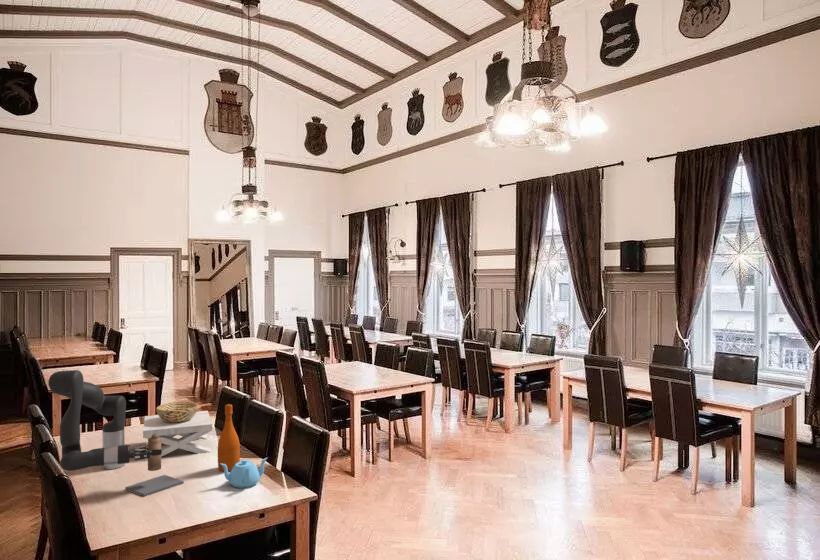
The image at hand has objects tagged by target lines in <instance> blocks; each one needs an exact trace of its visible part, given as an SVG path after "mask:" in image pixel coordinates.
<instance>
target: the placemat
mask: <svg viewBox="0 0 820 560" xmlns="http://www.w3.org/2000/svg"><path fill="white" fill-rule="evenodd" d="M184 482H185V481H184V480H181V479H178V478H175V477H173V476H169V475H167V474H162V475H159V476H156V477H152V478H150V479H146V480H144V481H141V482H137V483H134V484H131V485H128V486H125V489H124V490H126V489H127V490H126V491H128V490H130V491H129V492H131V491H132V492H131V493H133V492H135V493H134V494H136V493H137V494H136V495H139V494H140V496H141V495H142V497H147V495H148V496H151V495H153V494H156V493H159V492H162V491H165V490H169V489H171V488H174V487H176V486H180V485H182V484H184Z"/></svg>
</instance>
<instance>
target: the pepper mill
mask: <svg viewBox="0 0 820 560" xmlns="http://www.w3.org/2000/svg"><path fill="white" fill-rule="evenodd" d="M147 442H148V450H158V449H161V448H162V443H161V437H158V435H157V434H153V435H152V436H151V438H148V439H147ZM161 469H162V457H161V455H155V456H151V457H150V458H148V460H147V471H150V472H156V471H159V470H161Z"/></svg>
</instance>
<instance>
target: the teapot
mask: <svg viewBox="0 0 820 560" xmlns="http://www.w3.org/2000/svg"><path fill="white" fill-rule="evenodd" d="M267 459H268V457H265V458H263V459H262V460H261V462H260V467H259V468H258V467H257V465H256V464H255V463H254V462H253V461H250V460H248V459H240V462H238V463H236V464H235V465H234V467H233V469H232V470H231V471H228V469H227V465H226V464H222V463H220V464H221V465H222V466H223V467H224V471H223V474H224V477H225V479H226V480H227V481H228V483H229V484H230V485H231V486H232V487H234V488H238V489H239V488H240V489H241V488H242V489H243V488H245V489H246V488H249V487H253V486H255V485H257V484H258V483H259V481H260V480H261V476H263V474H264V473H265V463H266V461H267ZM256 483H257V484H256Z"/></svg>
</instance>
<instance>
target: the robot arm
mask: <svg viewBox="0 0 820 560" xmlns="http://www.w3.org/2000/svg"><path fill="white" fill-rule="evenodd" d="M47 384H48V387H49V389H50V391H51V392H52V393H53V394H55V395H58V396H63V397H67V398H69V399H70V404H69V406H68V409H66V411H65V413H64V415H63V417H62V419H61V421H60V425H59V442H60V446H61V459H60V460H59V466H60V468H61V469H62V470H64V471H67V472H71V471H72V472H74V471H78V470H83V469H88V468H90V467H101V466H102V469H104V468H105V469H104V470H114V469H115V468H116V469H120V468H122V466H123V467H125V464H129V463H130V459H134V461H139V460H140V461H141V460H144V459H146V458H150V457H151V456H155V455H161V454H162V450H161V449H158V450H148V445H146V444H144V445H134V447H133V448H130V444H126V442H125V440H126V439H125V438H126V436H125V426H126V425H125V424H126V409H127V401H126V398H125V396H123V395H105V394H104V391H103V389H102V388H101V387H100V386H98V385H96V384H94V383H91V382H87V381H84V376H83V373H82V371H80V370H79V369H71V370H60V371H59V370H58V371H55V372H52V374H51V375H50V376H49V377H48V382H47ZM82 405H83V406H86V407H88V408H90V409H93V410H94V411H95V412H97V414H100V415H101V416H105V417H106V416H107V417H109V416H111V417H113V416H114V417H113V420H112V421H108V422H106V423H104V424H103V425H102V447H99V448H93V449H90V450H87V451H82V447H81V427H80V426H81V423H80V422H81V409H82ZM119 467H120V468H119ZM116 469H115V470H116Z"/></svg>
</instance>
